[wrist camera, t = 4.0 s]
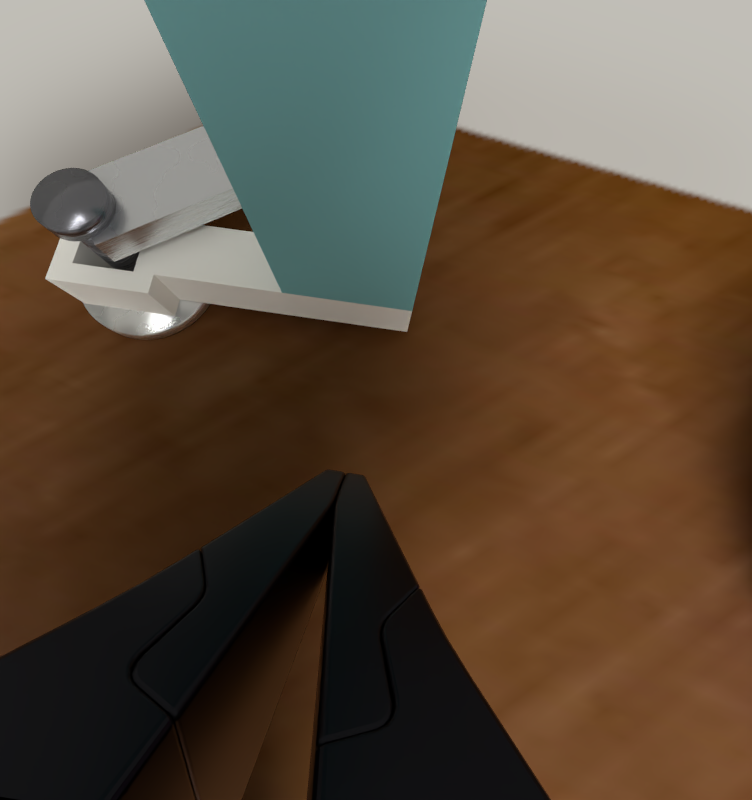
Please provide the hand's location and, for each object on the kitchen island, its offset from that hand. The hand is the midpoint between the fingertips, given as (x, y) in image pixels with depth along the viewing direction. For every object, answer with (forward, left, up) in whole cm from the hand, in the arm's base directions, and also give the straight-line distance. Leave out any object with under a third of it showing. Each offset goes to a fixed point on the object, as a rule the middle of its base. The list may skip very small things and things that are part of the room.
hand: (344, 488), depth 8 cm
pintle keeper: (+5, +12, -8) cm, 15 cm away
